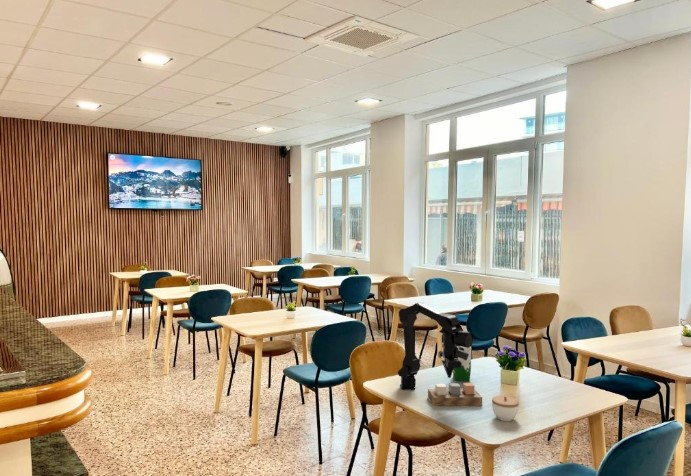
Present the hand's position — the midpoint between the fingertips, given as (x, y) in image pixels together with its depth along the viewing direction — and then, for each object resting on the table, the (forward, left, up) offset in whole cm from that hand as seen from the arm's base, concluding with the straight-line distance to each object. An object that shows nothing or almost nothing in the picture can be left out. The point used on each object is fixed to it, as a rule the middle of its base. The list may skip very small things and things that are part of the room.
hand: (449, 377), depth 221 cm
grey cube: (+3, 0, -8) cm, 8 cm away
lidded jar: (+19, -19, -12) cm, 29 cm away
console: (+3, 0, -11) cm, 12 cm away
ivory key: (-4, 0, -8) cm, 9 cm away
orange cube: (+9, 0, -7) cm, 12 cm away
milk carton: (+16, +31, -12) cm, 37 cm away
